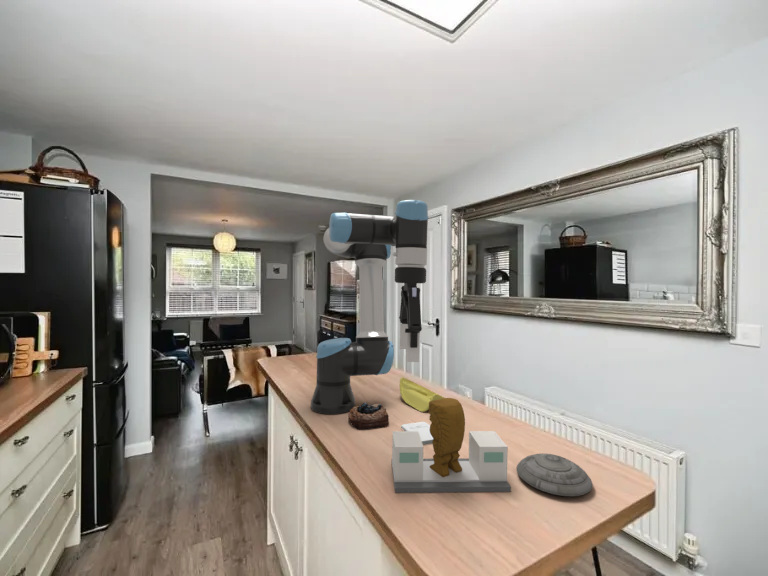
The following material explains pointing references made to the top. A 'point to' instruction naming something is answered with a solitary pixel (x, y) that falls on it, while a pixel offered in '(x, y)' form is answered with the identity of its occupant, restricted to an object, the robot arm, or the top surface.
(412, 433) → the rail board
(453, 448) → the figurine
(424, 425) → the external hard drive
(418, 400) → the plastic component
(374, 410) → the pastry
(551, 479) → the flying saucer
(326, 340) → the robot arm
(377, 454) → the top surface
